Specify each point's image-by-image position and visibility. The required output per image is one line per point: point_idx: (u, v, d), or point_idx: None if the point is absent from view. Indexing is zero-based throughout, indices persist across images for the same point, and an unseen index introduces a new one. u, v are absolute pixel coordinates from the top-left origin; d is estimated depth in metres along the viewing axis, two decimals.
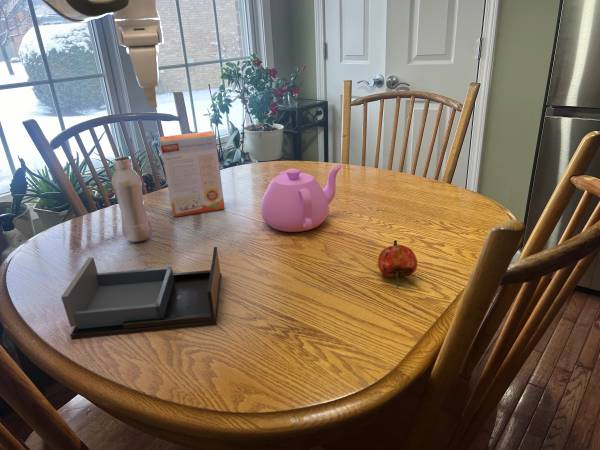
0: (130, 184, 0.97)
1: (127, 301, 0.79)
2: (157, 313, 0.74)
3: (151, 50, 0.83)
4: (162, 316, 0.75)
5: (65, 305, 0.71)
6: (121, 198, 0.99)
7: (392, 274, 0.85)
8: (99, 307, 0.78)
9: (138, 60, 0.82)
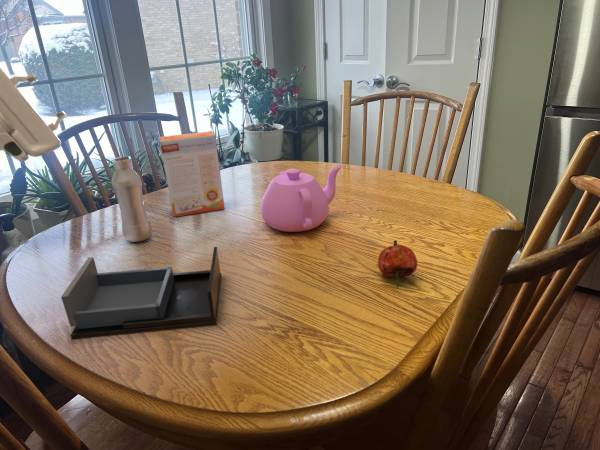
0: (130, 184, 0.97)
1: (127, 301, 0.79)
2: (157, 313, 0.74)
3: (33, 155, 0.98)
4: (162, 316, 0.75)
5: (65, 305, 0.71)
6: (121, 198, 0.99)
7: (392, 274, 0.85)
8: (99, 307, 0.78)
9: None
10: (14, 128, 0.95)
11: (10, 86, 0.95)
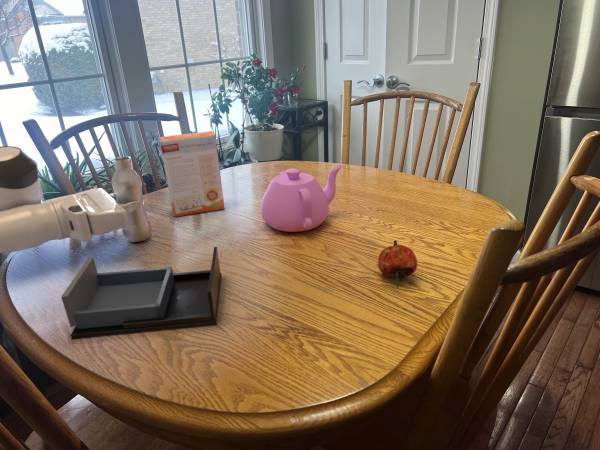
0: (130, 184, 0.97)
1: (127, 301, 0.79)
2: (157, 313, 0.74)
3: (92, 218, 0.89)
4: (162, 316, 0.75)
5: (65, 305, 0.71)
6: (121, 198, 0.99)
7: (392, 274, 0.85)
8: (99, 307, 0.78)
9: (104, 228, 0.90)
10: (88, 206, 0.94)
11: (102, 192, 1.02)
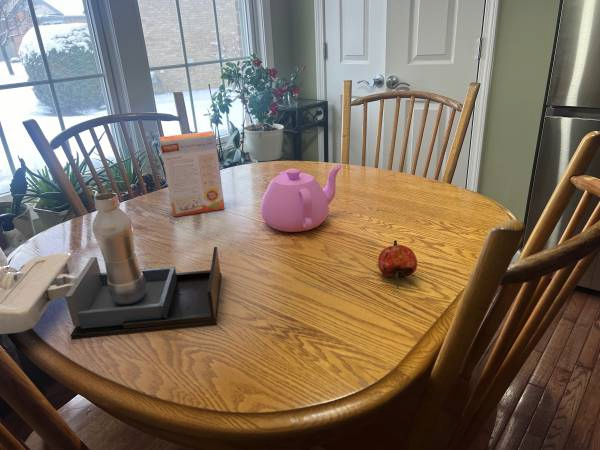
0: (107, 232, 0.71)
1: None
2: (160, 313, 0.74)
3: None
4: (165, 316, 0.75)
5: (69, 305, 0.71)
6: (101, 247, 0.74)
7: (392, 274, 0.85)
8: (102, 307, 0.78)
9: None
10: (10, 288, 0.74)
11: (58, 264, 0.81)
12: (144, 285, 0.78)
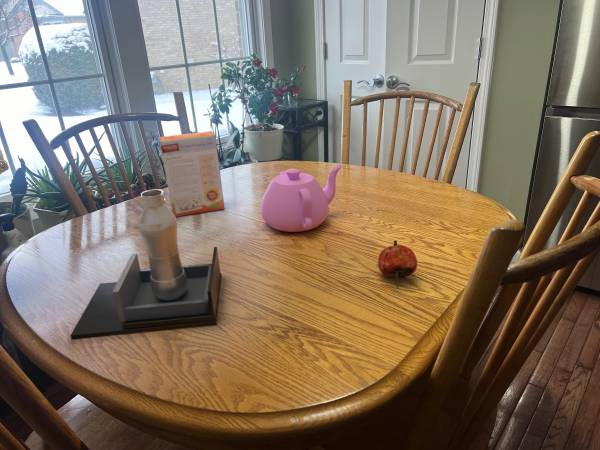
0: (154, 229, 0.72)
1: None
2: (205, 308, 0.74)
3: None
4: (209, 312, 0.75)
5: (116, 300, 0.72)
6: (146, 244, 0.74)
7: (392, 274, 0.85)
8: (145, 303, 0.78)
9: None
10: None
11: None
12: (186, 281, 0.79)
